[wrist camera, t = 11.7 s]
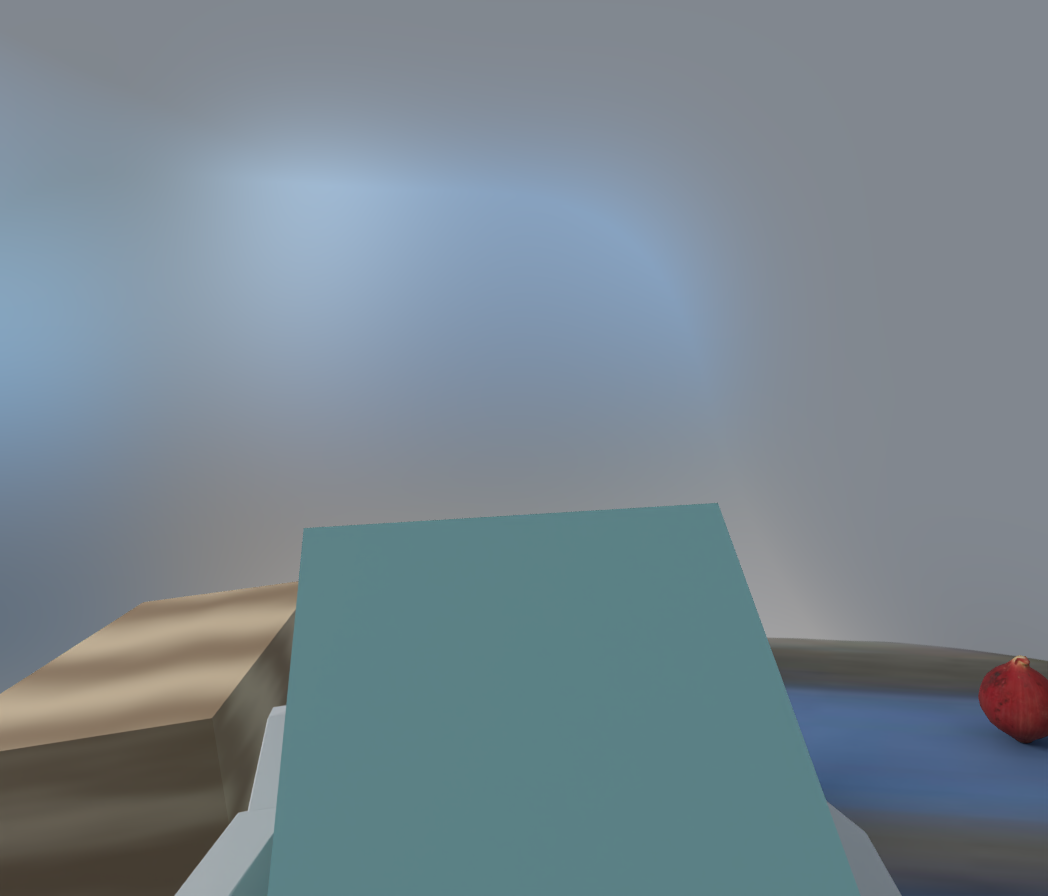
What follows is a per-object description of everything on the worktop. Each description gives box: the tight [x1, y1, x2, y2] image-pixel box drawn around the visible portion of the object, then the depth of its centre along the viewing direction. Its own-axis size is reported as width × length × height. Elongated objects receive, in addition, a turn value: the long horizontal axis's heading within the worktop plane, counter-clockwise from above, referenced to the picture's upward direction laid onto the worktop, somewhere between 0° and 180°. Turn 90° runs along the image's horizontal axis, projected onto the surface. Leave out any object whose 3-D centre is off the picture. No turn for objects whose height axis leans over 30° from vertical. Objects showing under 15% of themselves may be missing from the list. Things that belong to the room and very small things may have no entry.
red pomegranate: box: [979, 656, 1048, 743], centre depth 53 cm, size 6×6×8 cm
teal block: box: [267, 503, 861, 896], centre depth 15 cm, size 26×4×4 cm
